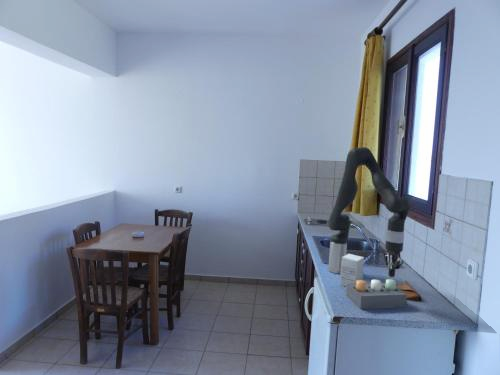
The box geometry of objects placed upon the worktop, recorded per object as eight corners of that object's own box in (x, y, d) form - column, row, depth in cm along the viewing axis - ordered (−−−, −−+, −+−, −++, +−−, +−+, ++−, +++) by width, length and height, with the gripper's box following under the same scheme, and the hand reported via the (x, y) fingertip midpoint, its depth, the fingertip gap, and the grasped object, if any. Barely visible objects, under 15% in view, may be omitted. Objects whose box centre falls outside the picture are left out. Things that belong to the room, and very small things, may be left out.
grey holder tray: (346, 295, 167) (346, 283, 166) (387, 294, 171) (388, 282, 170) (360, 309, 153) (361, 296, 153) (405, 307, 158) (406, 294, 157)
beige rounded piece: (353, 291, 162) (354, 279, 162) (362, 290, 163) (363, 279, 163) (358, 295, 158) (359, 283, 157) (367, 295, 159) (368, 283, 158)
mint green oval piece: (382, 290, 165) (383, 279, 164) (391, 289, 166) (392, 278, 165) (388, 294, 161) (389, 282, 160) (397, 294, 161) (398, 282, 161)
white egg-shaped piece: (368, 290, 164) (369, 279, 163) (377, 290, 165) (378, 279, 164) (373, 294, 159) (374, 283, 159) (382, 294, 160) (383, 283, 159)
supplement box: (346, 280, 188) (348, 253, 186) (362, 284, 182) (364, 257, 180) (339, 284, 181) (341, 256, 179) (355, 289, 175) (358, 260, 173)
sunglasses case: (390, 285, 183) (398, 275, 182) (401, 292, 183) (409, 282, 182) (403, 300, 165) (411, 289, 164) (415, 308, 165) (424, 297, 164)
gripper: (379, 236, 166) (376, 271, 168) (395, 244, 153) (392, 281, 155) (393, 236, 168) (390, 271, 169) (410, 243, 155) (407, 281, 156)
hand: (391, 276), depth 162 cm, fingers closed
